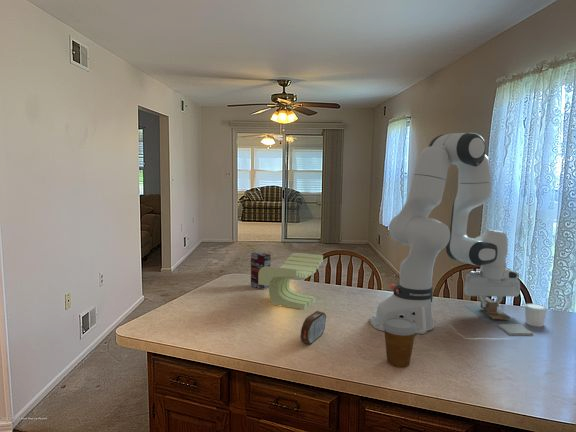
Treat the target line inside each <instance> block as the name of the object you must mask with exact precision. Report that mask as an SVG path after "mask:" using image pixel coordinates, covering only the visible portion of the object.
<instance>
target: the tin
mask: <svg viewBox="0 0 576 432" xmlns="http://www.w3.org/2000/svg"><path fill="white" fill-rule="evenodd" d="M326 320H327V314H326V313H325V312H322V311H319V310H316V311H314V312H313V313H311V314H309V315H308V316H307V317H306V318H305V319H304V321H303V323H302V325H301V329H300V341H301V342H302V343H303V344H308V345H312V344H314V343H315V341H317V340H318V339H319V338H320V337H321V336H322V335H323V334H324V331H325V329H326V328H325V327H326V323H327V321H326Z"/></svg>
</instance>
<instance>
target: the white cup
mask: <svg viewBox="0 0 576 432" xmlns="http://www.w3.org/2000/svg"><path fill="white" fill-rule="evenodd" d="M524 306H525V307H524V308H525V309H524V311H525V312H524V313H525V316H524V317H525V324H527V325H529V326H531V327H532V326H533V327H543V326H544V325H545V319H546V316H547V309H548V308H547V306H545V305H542V304H538V303H525V304H524Z"/></svg>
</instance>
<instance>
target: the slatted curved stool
mask: <svg viewBox="0 0 576 432" xmlns="http://www.w3.org/2000/svg"><path fill="white" fill-rule="evenodd" d="M323 261H324V255H323V254H315V253H305V252H304V253H303V252H293V253H291V254H290V255H288V257H287V258H286V260H285V261H284V262H283V264H282V265H281V266H279V267H276V266H270V267H268V266H264V267H262V268H261V269H260V270H259V273H258V284H259V285H267V286H268V287H269V288H268V297H269V300H270V302H271V303H272V305H274V306H278V305H281V306H280V307H284V306H286V307H285V308H291V307H293V308H292V309H297V308H300V309H299V310H306V309H307V308H308V307H310V306H311V305H312V304H313V303H314V302H315V301H316V298H315V295H314V296H313V295H312V296H311V295H306V294H301V293H298V292H295V291H294V290H292V289H291V287H290V281H291V280H292V279H299V280H305V279H307V278H309V277H311V276H312V275H314V274H315V273H317V270H319V266H321V265H322V263H323ZM312 302H313V303H312ZM311 303H312V304H311ZM306 307H307V308H306Z"/></svg>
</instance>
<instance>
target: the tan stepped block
mask: <svg viewBox="0 0 576 432" xmlns="http://www.w3.org/2000/svg"><path fill="white" fill-rule="evenodd" d="M485 301H486V302H487V303H488V307H483V306H482V303H483V302H482V300H481V299H480V306H481V308H483V309H484V310H486V311H487V312H486V314H487V315H488V316H490V317H491V318H492V319H510V317H511V316H510V315H509V316H510V317H509V316H507V315H508V314H507V313H505V312H504V311H502V312H497V308H498V307H497V303H496V302H495V301H494V300H493V299H491V298H490V297H489V296H486V299H485ZM503 312H504V313H505V314H504V313H503ZM506 314H507V315H506Z"/></svg>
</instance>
